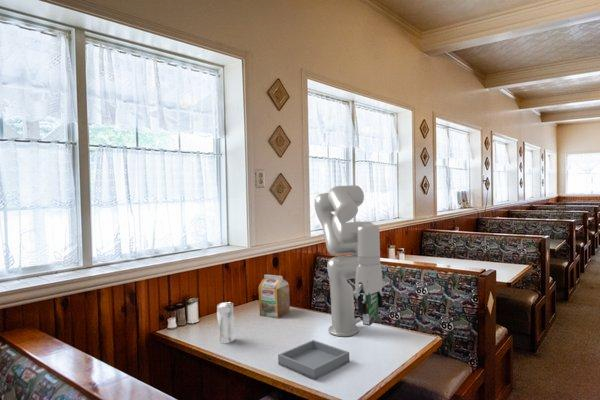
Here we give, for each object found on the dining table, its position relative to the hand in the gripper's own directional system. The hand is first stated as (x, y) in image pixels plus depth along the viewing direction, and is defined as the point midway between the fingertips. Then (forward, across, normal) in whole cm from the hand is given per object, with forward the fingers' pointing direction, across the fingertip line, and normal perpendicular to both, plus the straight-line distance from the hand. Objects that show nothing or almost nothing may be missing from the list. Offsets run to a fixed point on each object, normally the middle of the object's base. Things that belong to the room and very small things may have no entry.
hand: (370, 310), depth 143 cm
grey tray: (+18, +14, -14) cm, 27 cm away
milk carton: (+20, -12, -67) cm, 71 cm away
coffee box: (+4, 0, 0) cm, 4 cm away
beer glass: (+19, +22, -56) cm, 63 cm away
